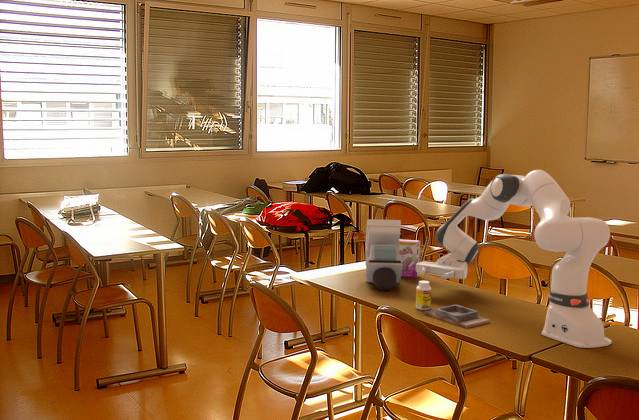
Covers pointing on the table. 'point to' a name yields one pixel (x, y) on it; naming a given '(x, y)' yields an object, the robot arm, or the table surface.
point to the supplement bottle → (423, 295)
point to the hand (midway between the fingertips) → (434, 273)
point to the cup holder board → (458, 316)
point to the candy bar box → (409, 257)
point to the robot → (383, 253)
